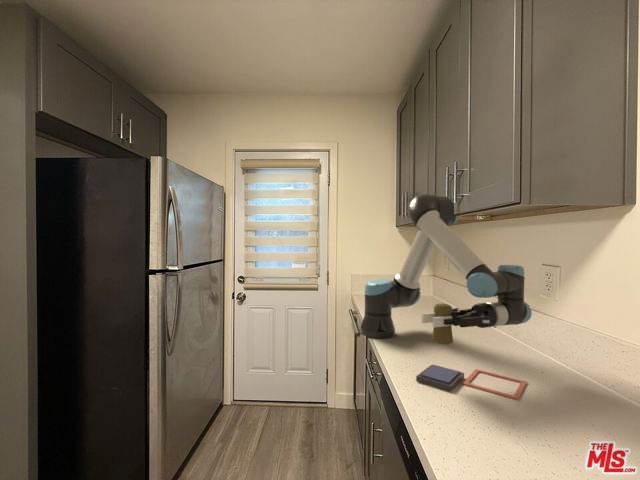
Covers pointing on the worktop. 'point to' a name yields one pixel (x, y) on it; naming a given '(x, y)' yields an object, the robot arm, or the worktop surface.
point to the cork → (445, 332)
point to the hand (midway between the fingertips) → (428, 320)
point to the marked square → (516, 396)
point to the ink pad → (440, 377)
